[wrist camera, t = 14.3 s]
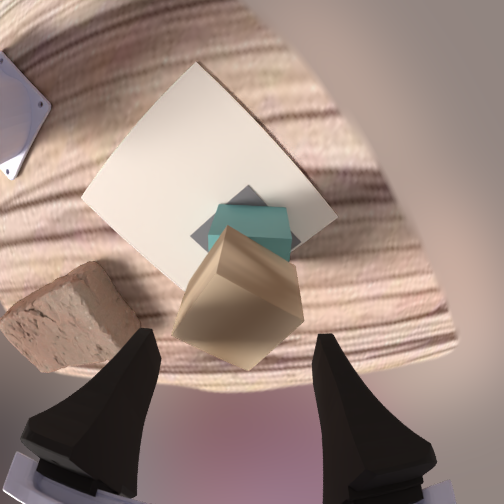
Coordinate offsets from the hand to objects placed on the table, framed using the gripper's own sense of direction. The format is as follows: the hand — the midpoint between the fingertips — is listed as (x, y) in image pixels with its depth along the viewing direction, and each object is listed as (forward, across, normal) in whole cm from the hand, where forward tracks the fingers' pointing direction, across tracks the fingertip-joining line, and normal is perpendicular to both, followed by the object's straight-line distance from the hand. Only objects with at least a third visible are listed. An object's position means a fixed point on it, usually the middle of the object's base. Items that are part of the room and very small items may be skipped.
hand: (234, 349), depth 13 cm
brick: (+11, +19, +9) cm, 24 cm away
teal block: (+10, 0, 0) cm, 10 cm away
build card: (+10, +3, -3) cm, 11 cm away
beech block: (+6, 0, 0) cm, 6 cm away
